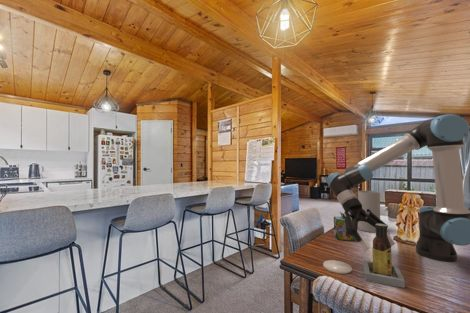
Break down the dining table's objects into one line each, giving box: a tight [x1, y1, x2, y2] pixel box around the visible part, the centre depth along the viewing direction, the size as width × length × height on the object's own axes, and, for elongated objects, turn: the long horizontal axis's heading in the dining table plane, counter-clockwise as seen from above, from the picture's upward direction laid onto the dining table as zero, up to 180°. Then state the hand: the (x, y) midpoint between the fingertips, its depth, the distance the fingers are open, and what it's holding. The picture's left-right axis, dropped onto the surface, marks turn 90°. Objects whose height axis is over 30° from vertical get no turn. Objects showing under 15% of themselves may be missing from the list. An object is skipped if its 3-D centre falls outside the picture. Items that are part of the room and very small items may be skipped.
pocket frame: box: [362, 259, 406, 289], centre depth 89 cm, size 12×13×2 cm
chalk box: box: [333, 211, 355, 241], centre depth 135 cm, size 9×9×15 cm
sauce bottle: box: [372, 223, 393, 277], centre depth 90 cm, size 6×6×20 cm
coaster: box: [322, 259, 353, 275], centre depth 96 cm, size 11×11×1 cm
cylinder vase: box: [357, 190, 381, 233], centre depth 151 cm, size 12×12×25 cm
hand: (380, 247), depth 90 cm, fingers open, 13 cm apart
